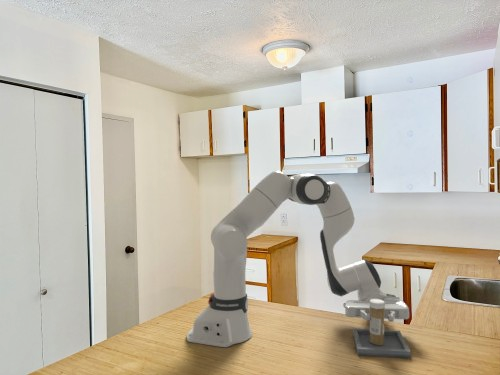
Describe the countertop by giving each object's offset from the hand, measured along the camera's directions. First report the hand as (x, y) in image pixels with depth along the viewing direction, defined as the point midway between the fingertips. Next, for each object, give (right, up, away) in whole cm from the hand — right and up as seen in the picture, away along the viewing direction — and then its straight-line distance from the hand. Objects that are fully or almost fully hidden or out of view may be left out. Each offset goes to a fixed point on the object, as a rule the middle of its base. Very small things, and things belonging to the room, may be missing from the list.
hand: (379, 318), depth 116 cm
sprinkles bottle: (0, -8, +1) cm, 8 cm away
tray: (0, -9, +1) cm, 9 cm away
